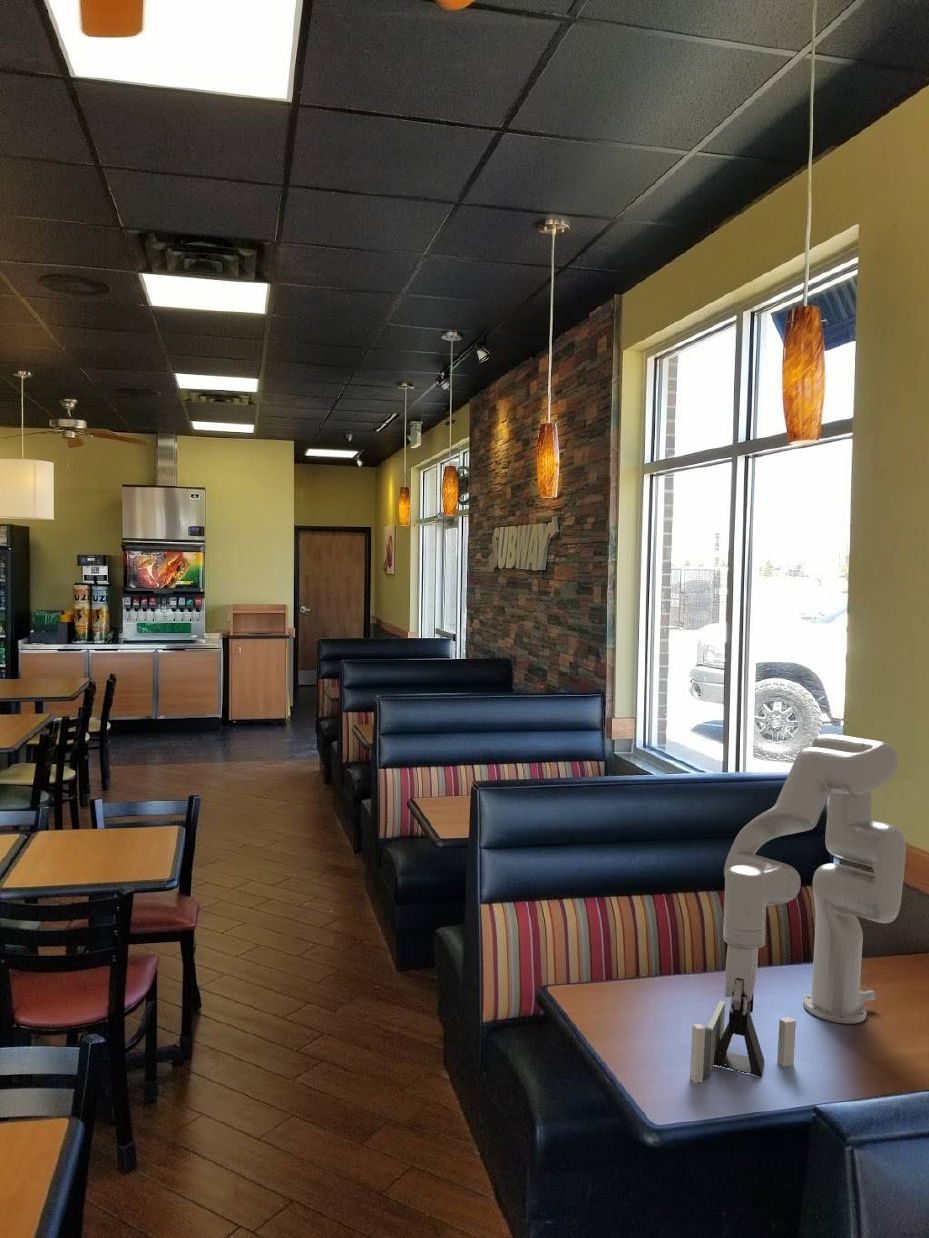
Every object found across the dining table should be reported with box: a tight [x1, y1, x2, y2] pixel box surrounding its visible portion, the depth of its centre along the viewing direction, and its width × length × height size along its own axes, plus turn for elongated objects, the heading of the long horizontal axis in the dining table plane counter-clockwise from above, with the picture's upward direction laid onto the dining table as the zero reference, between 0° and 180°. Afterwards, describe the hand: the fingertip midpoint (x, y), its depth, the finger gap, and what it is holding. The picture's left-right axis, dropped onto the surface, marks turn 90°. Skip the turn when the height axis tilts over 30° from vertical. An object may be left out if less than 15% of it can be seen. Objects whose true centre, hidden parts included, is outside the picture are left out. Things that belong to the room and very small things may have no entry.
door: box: [703, 1000, 726, 1080], centre depth 169 cm, size 16×1×9 cm, turn 154°
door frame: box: [689, 1016, 797, 1084], centre depth 165 cm, size 22×2×10 cm, turn 111°
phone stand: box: [714, 1001, 765, 1078], centre depth 168 cm, size 9×6×12 cm, turn 67°
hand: (741, 1021), depth 169 cm, fingers open, 9 cm apart
